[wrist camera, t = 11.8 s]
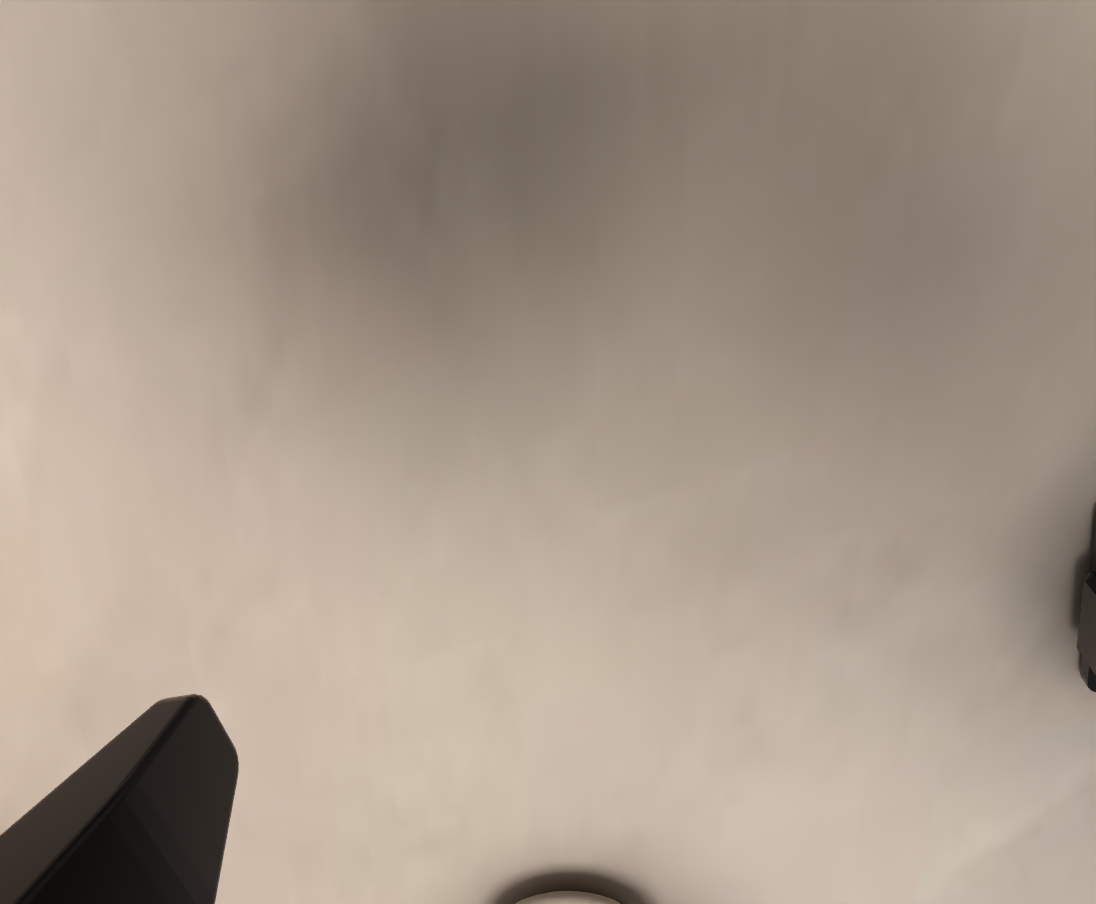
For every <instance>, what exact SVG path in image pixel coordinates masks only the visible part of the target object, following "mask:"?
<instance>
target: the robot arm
mask: <svg viewBox="0 0 1096 904" xmlns="http://www.w3.org/2000/svg"><path fill="white" fill-rule="evenodd" d="M1077 649H1078V651H1079V652H1080V654H1081V655H1082V659H1081V669H1080V674H1081V678H1082V679H1083V680H1084V682H1085V683H1086V685H1087V686H1088V688H1089V689H1090V690H1091V691H1094V692H1096V517H1095V527H1094V537H1093V547H1092V557H1091V567H1090V573H1088V575H1087V576H1086V578H1085V580H1084V581H1083V589H1082V600H1081V610H1080V621H1079V631H1078V642H1077ZM238 765H239V763H238V756H237V753H236V749H235V747H234V745H233V743H232V741H231V740H230V738H229V736H228V734H227V733H226V731H225V729H224V727H223V726H222V724H221V722H220V720H219V718H218V717H217V715H216V713H215V711H214V710H213V708H212V706H211V704H210V703H209V701H208V700H207V699H206V698H204V697H203V696H201V695H196V694H191V695H185V696H178V697H171V698H166V699H163V700H160V701H158V702H157V703H155V704H154V705H153V706H151V707H150V708H149V709H148V710H147V711H146V712H144V713H143V714H142V715H141V716H140V717H139V718H137V719H136V720H135V721H134V722H133V723H132V724H130V725H129V726H128V727H127V728H126V729H125V730H123V731H122V732H121V733H120V734H119V735H117V736H116V737H115V738H114V739H113V740H112V741H110V742H109V743H108V744H107V745H106V746H105V747H103V748H102V749H101V750H100V751H99V752H98V753H96V754H95V755H94V756H93V757H92V758H90V759H89V760H88V761H87V762H86V763H85V764H83V765H82V766H81V767H80V768H79V769H78V770H76V771H75V772H74V773H73V774H72V775H71V776H69V777H68V778H67V779H66V780H65V781H64V782H62V783H61V784H60V785H59V786H58V787H56V788H55V789H54V790H53V791H52V792H51V793H49V794H48V795H47V796H46V797H45V798H44V799H42V800H41V801H40V802H39V803H38V804H37V805H35V806H34V807H33V808H32V809H31V810H30V811H28V812H27V813H26V814H25V815H24V816H22V817H21V818H20V819H19V820H18V821H17V822H15V823H14V824H13V825H12V826H11V827H10V828H8V829H7V830H6V831H5V832H4V833H3V834H1V835H0V904H215V899H216V893H217V888H218V882H219V877H220V871H221V866H222V860H223V855H224V849H225V844H226V838H227V833H228V828H229V822H230V817H231V811H232V806H233V800H234V795H235V789H236V784H237V778H238Z"/></svg>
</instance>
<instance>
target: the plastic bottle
mask: <svg viewBox="0 0 1096 904" xmlns="http://www.w3.org/2000/svg"><path fill="white" fill-rule="evenodd" d="M515 904H621V903H619V902H617V901H615V900H613V899H610V898H607V897H604V896H601V895H598V894H593V893H587V892H578V891H556V892H549V893H543V894H538V895H535V896H531V897H528V898H525V899H523V900H521V901H519V902H517V903H515Z"/></svg>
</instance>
